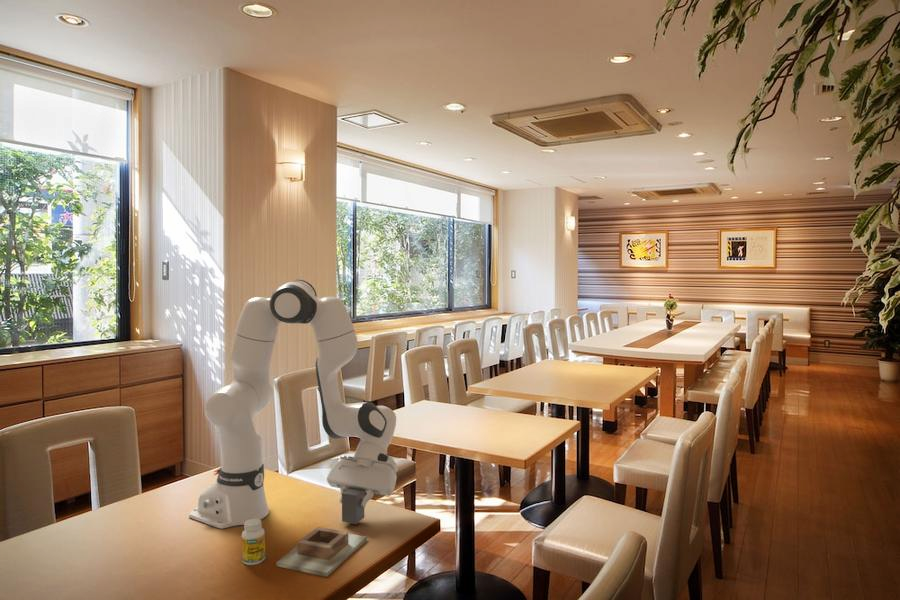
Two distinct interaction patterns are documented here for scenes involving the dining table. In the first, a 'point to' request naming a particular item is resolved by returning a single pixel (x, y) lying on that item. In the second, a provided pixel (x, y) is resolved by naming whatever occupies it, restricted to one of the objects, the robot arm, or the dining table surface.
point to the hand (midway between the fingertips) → (352, 504)
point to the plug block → (352, 505)
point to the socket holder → (321, 551)
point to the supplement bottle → (253, 542)
